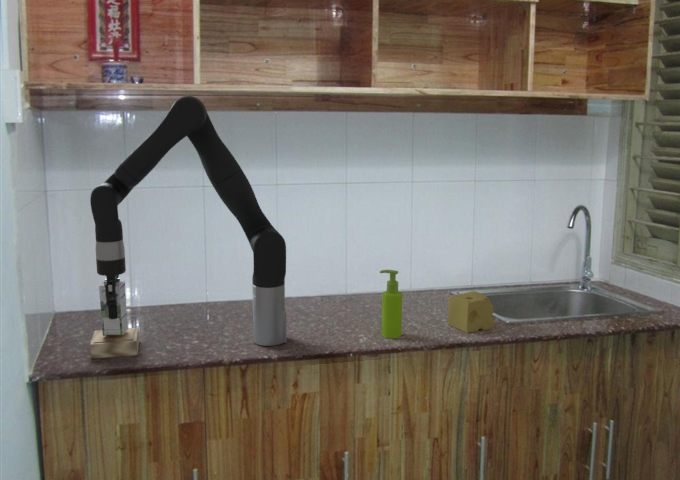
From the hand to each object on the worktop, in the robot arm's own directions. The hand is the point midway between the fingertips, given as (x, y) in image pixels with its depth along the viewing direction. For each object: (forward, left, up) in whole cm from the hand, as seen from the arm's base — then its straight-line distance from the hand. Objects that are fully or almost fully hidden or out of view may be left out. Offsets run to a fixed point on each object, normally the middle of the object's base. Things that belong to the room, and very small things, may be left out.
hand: (114, 314), depth 187 cm
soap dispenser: (-79, +6, -10) cm, 80 cm away
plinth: (0, 0, -10) cm, 10 cm away
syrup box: (0, 0, -5) cm, 5 cm away
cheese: (-106, +4, -10) cm, 106 cm away
